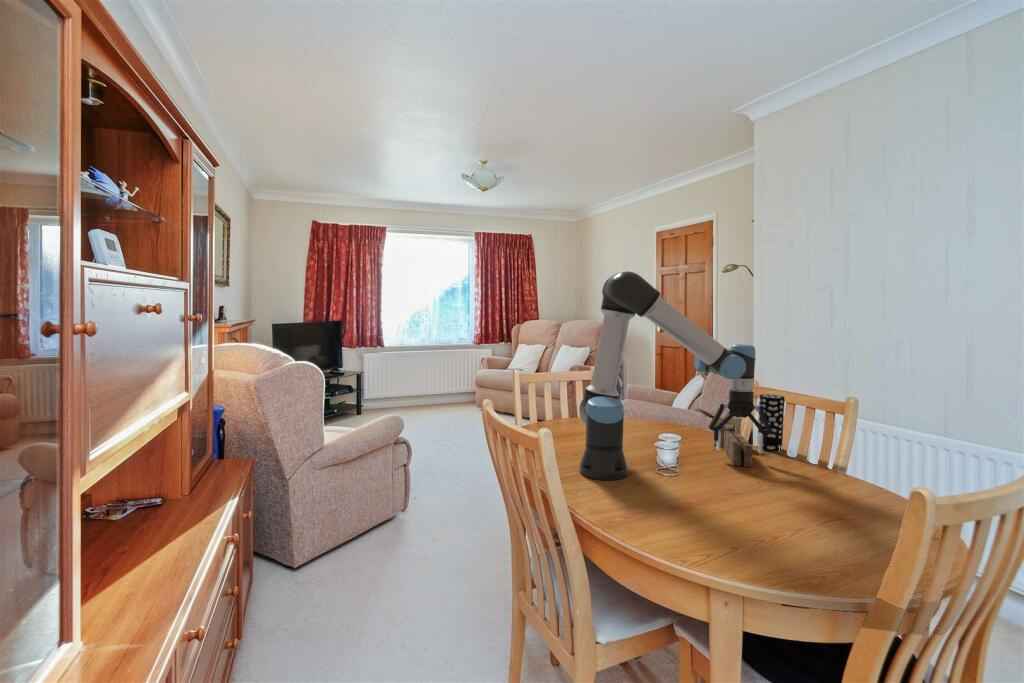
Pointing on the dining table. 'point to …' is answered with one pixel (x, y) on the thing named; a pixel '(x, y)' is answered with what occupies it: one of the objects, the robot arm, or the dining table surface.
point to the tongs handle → (724, 428)
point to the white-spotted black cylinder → (772, 421)
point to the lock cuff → (732, 421)
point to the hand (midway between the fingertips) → (738, 451)
